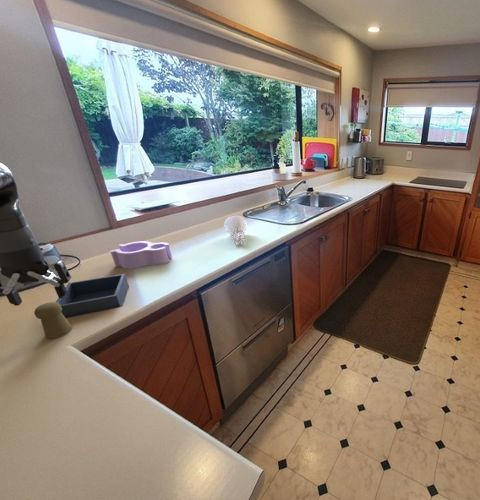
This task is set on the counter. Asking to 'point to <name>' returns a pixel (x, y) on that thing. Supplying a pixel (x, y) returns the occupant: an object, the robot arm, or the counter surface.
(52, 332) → the cork
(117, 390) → the counter surface
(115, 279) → the tub
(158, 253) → the purple compartment tray
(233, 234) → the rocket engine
